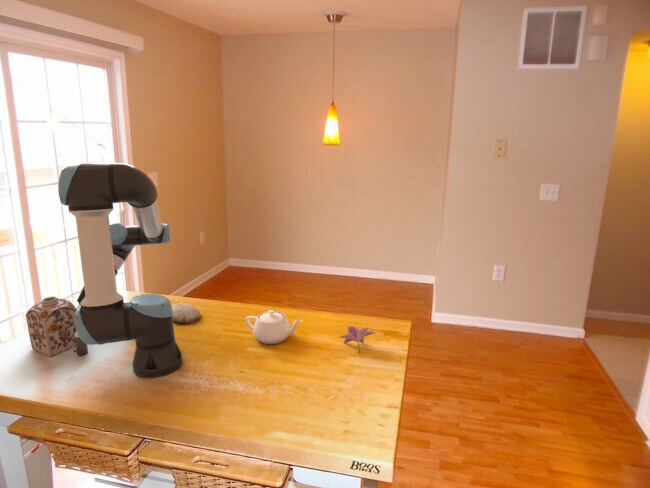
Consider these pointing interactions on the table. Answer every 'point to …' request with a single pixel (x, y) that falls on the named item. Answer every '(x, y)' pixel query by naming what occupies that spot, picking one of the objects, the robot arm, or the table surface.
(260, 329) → the teapot
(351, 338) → the lily
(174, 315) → the stone
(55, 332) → the decorative jar
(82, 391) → the table surface
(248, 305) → the table surface
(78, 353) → the pepper shaker
